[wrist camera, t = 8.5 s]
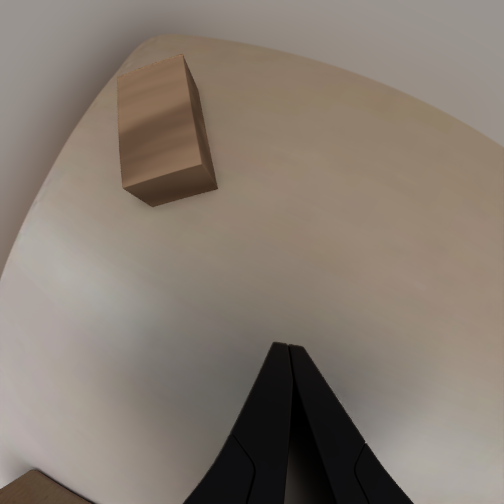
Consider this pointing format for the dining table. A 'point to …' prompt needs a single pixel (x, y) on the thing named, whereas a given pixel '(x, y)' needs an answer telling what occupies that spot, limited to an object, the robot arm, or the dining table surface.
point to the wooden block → (37, 491)
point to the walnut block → (163, 134)
